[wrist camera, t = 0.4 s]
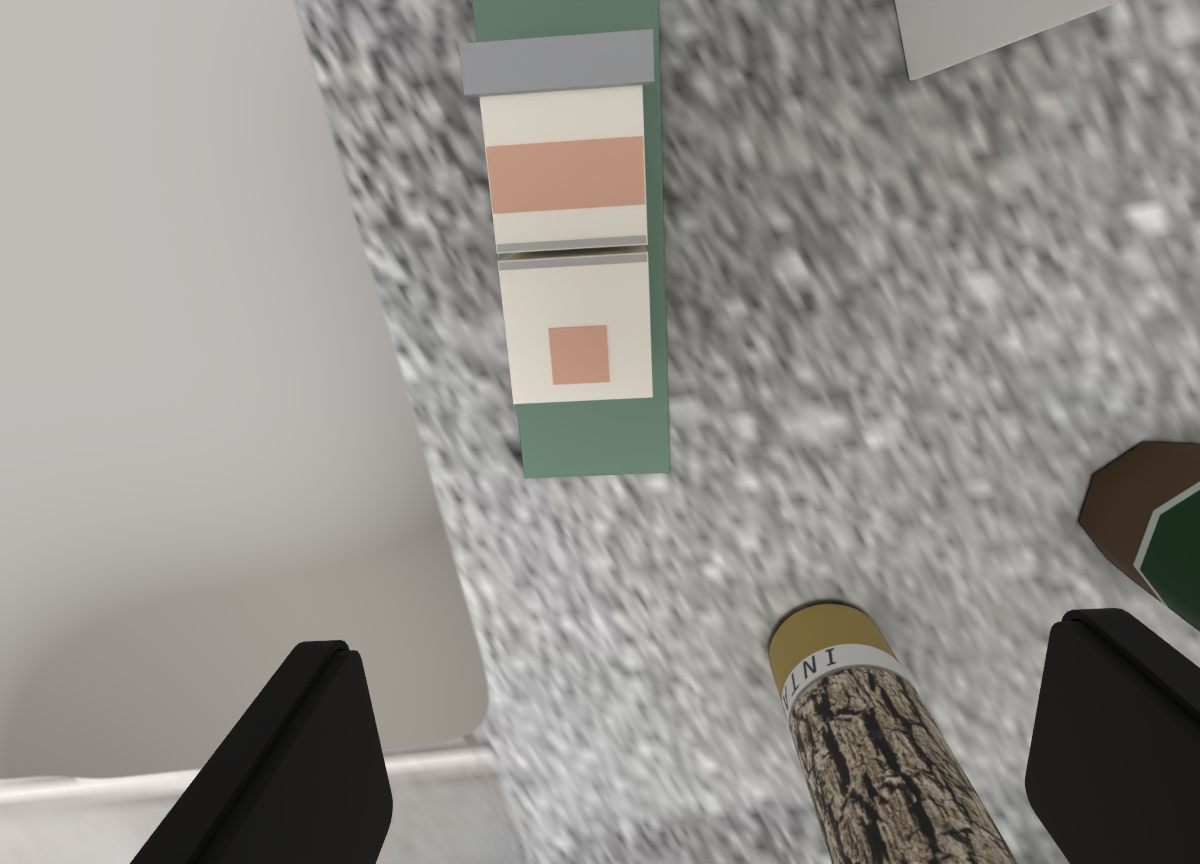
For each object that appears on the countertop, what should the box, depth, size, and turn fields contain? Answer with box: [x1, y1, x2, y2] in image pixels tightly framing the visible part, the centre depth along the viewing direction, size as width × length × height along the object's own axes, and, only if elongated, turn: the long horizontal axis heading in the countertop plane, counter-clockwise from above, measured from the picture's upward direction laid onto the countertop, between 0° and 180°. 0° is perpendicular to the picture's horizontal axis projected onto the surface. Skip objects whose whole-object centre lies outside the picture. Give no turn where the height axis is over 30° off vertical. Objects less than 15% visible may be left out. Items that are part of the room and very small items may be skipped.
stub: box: [498, 245, 653, 404], centre depth 30 cm, size 6×6×6 cm
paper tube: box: [769, 604, 1018, 864], centre depth 28 cm, size 7×7×25 cm
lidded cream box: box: [458, 29, 654, 254], centre depth 27 cm, size 7×7×7 cm
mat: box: [472, 0, 670, 478], centre depth 32 cm, size 23×8×1 cm, turn 4°
